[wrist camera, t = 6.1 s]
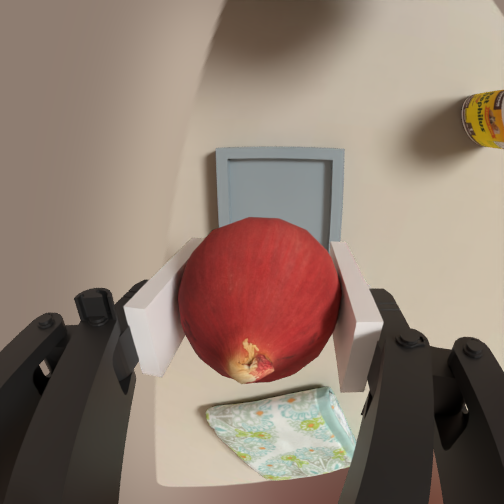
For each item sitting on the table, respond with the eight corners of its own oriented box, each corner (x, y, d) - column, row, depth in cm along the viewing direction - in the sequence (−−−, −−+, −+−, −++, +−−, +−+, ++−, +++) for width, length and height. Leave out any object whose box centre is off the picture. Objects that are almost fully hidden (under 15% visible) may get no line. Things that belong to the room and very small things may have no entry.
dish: (220, 147, 26) (215, 148, 24) (341, 148, 24) (344, 149, 23) (225, 258, 30) (221, 265, 28) (335, 262, 28) (337, 269, 27)
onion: (296, 325, 15) (293, 457, 8) (195, 286, 15) (125, 399, 8) (348, 229, 13) (407, 334, 6) (231, 180, 13) (153, 234, 6)
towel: (265, 465, 44) (262, 486, 40) (207, 401, 39) (198, 427, 34) (361, 446, 40) (364, 469, 35) (329, 372, 34) (331, 402, 29)
